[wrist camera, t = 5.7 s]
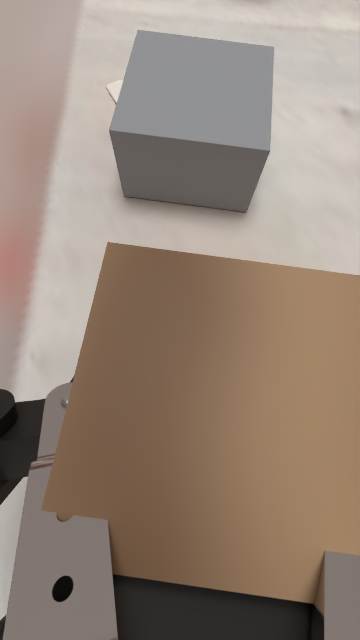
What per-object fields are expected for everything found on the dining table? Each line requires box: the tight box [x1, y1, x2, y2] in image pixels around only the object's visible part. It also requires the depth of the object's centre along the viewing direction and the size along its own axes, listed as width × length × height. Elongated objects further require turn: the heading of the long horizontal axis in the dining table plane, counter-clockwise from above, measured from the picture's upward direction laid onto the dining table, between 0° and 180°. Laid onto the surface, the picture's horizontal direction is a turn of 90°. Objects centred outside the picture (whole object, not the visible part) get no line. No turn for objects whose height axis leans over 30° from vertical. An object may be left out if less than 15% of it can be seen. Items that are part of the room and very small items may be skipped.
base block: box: [109, 30, 274, 212], centre depth 19 cm, size 9×9×5 cm
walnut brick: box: [41, 242, 360, 604], centre depth 10 cm, size 5×5×11 cm
